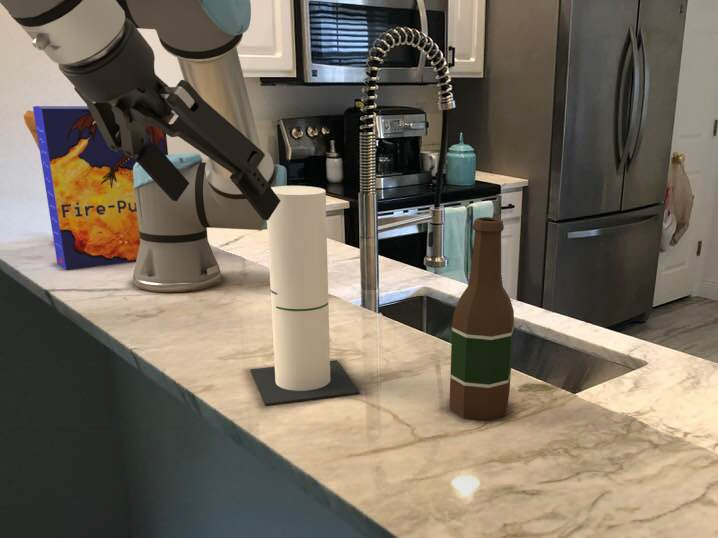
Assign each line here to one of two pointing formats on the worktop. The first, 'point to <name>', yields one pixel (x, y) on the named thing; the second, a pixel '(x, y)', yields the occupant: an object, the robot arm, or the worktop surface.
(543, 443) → the worktop surface
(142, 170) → the robot arm
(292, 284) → the cylindrical container
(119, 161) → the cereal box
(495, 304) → the beer bottle
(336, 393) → the mat
